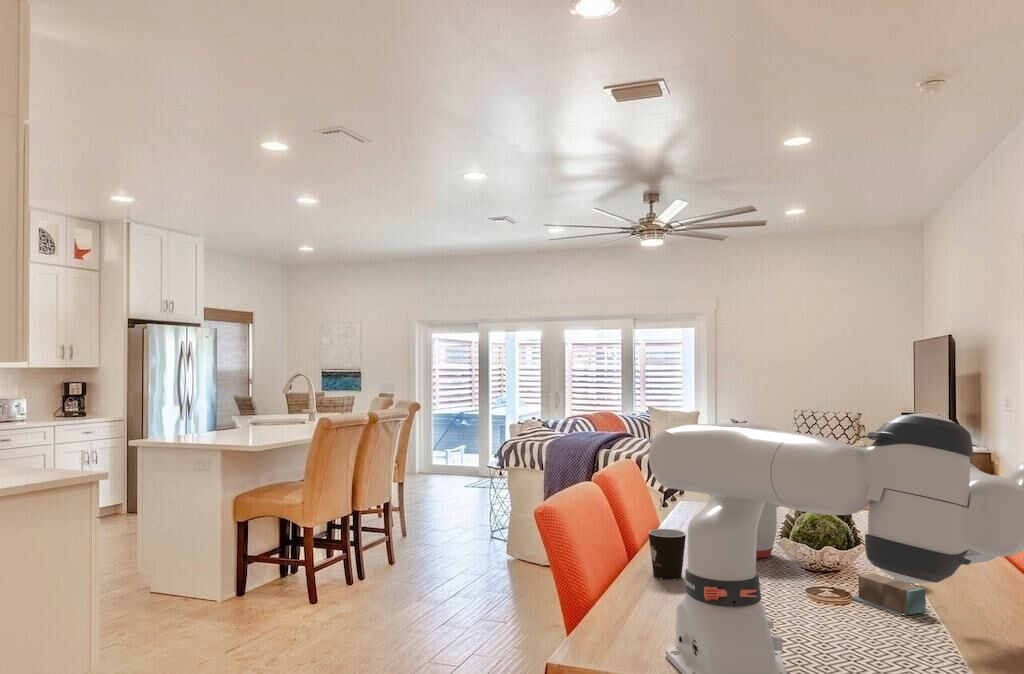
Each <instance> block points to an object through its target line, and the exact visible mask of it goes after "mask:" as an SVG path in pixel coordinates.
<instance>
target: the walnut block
mask: <svg viewBox="0 0 1024 674" xmlns="http://www.w3.org/2000/svg"><path fill="white" fill-rule="evenodd" d="M857 579H858V580H857V581H858V596H859V598H862V599H865V600H868V601H871V602H874V603H877V604H880V605H882V606H885V607H888V608H891V609H894V610H897V611H900V612H903V613H906V614H909V615H908V616H911V614H912V615H917V613H918V614H923V613H926V612H927V611H926V609H927V608H926V604H927V603H926V602H927V601H926V599H927V598H926V588H925V587H920V586H917V585H914V584H913V585H911V584H907V583H904V582H901V581H897V580H894V578H890V577H887V576H884V575H880V574H876V573H866V574H861V575H860V574H859V575H858V577H857ZM922 612H923V613H922Z"/></svg>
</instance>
